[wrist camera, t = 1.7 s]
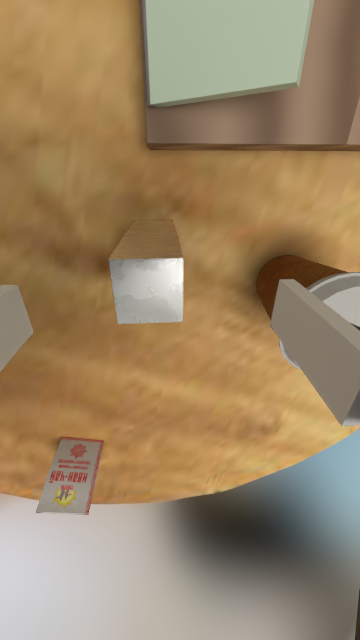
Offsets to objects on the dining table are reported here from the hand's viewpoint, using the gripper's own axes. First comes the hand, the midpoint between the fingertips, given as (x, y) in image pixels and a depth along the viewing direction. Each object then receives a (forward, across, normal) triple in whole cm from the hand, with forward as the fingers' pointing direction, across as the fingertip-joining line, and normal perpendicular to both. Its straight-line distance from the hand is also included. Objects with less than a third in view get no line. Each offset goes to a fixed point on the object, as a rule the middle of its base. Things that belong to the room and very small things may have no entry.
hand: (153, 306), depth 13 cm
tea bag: (+16, -14, -34) cm, 40 cm away
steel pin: (+16, 0, 0) cm, 16 cm away
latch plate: (+8, +4, +14) cm, 17 cm away
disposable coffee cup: (+16, +14, -5) cm, 22 cm away
